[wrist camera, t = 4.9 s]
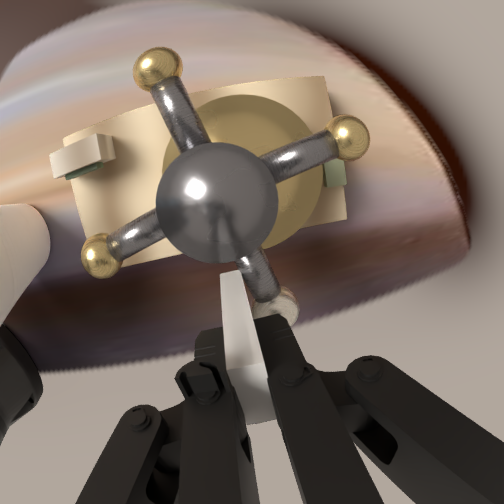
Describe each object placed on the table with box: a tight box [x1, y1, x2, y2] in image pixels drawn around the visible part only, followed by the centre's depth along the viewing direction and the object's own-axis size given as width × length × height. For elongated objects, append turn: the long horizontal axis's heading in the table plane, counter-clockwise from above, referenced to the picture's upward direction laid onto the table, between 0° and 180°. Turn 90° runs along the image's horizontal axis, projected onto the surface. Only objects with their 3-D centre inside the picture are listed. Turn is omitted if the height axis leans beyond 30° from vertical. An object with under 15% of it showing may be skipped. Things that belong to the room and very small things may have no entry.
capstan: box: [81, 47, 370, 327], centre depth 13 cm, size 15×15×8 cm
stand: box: [49, 76, 347, 267], centre depth 16 cm, size 18×10×5 cm, turn 101°
